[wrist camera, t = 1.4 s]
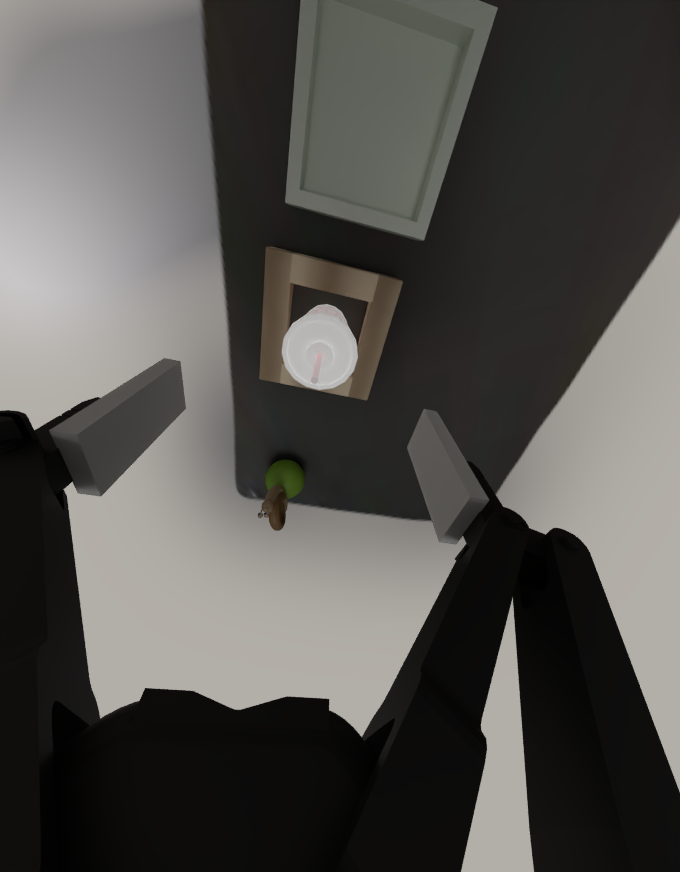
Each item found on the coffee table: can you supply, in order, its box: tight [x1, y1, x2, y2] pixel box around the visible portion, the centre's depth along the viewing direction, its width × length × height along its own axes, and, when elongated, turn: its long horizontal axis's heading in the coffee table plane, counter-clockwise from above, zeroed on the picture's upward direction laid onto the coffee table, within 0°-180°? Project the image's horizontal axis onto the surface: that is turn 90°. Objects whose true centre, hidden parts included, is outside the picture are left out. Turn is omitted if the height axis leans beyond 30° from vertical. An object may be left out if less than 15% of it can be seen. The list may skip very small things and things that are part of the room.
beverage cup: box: [282, 304, 358, 390], centre depth 24 cm, size 6×6×14 cm
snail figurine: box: [258, 460, 305, 530], centre depth 35 cm, size 5×6×12 cm
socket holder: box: [259, 247, 403, 400], centre depth 28 cm, size 12×12×3 cm
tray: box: [285, 0, 498, 241], centre depth 20 cm, size 12×12×2 cm
